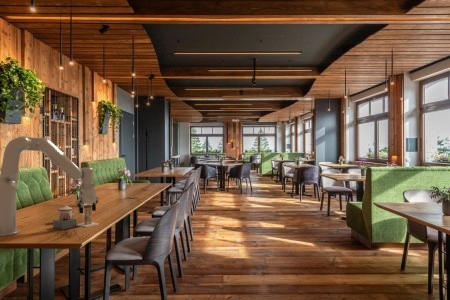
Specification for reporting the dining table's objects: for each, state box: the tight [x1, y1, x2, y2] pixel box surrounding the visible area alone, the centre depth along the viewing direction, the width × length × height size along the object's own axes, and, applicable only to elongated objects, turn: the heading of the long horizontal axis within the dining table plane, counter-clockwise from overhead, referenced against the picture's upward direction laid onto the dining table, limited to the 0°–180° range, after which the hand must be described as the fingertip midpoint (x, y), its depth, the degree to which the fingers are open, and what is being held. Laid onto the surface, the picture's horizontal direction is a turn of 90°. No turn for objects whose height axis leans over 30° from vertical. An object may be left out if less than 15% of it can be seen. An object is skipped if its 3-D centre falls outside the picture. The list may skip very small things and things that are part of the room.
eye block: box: [52, 218, 78, 231], centre depth 231 cm, size 10×10×5 cm
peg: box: [83, 204, 93, 225], centre depth 237 cm, size 5×5×12 cm
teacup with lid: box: [57, 204, 78, 219], centre depth 249 cm, size 12×9×12 cm
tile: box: [77, 221, 100, 228], centre depth 237 cm, size 10×10×1 cm
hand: (87, 211), depth 237 cm, fingers open, 9 cm apart
